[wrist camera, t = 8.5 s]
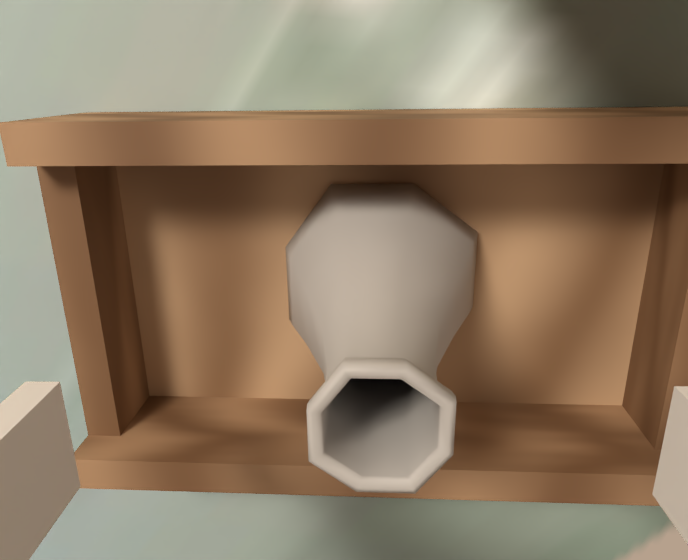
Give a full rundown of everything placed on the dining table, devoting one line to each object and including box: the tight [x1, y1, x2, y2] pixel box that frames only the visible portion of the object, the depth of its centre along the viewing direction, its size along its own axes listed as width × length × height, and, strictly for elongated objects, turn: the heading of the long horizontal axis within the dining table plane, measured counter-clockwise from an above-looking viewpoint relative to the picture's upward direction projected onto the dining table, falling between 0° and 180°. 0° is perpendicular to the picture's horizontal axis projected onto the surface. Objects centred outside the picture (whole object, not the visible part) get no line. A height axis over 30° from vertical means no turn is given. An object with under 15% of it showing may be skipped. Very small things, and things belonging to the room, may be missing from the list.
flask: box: [286, 184, 478, 494], centre depth 16 cm, size 7×7×10 cm
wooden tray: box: [0, 107, 688, 506], centre depth 20 cm, size 21×12×5 cm, turn 91°
